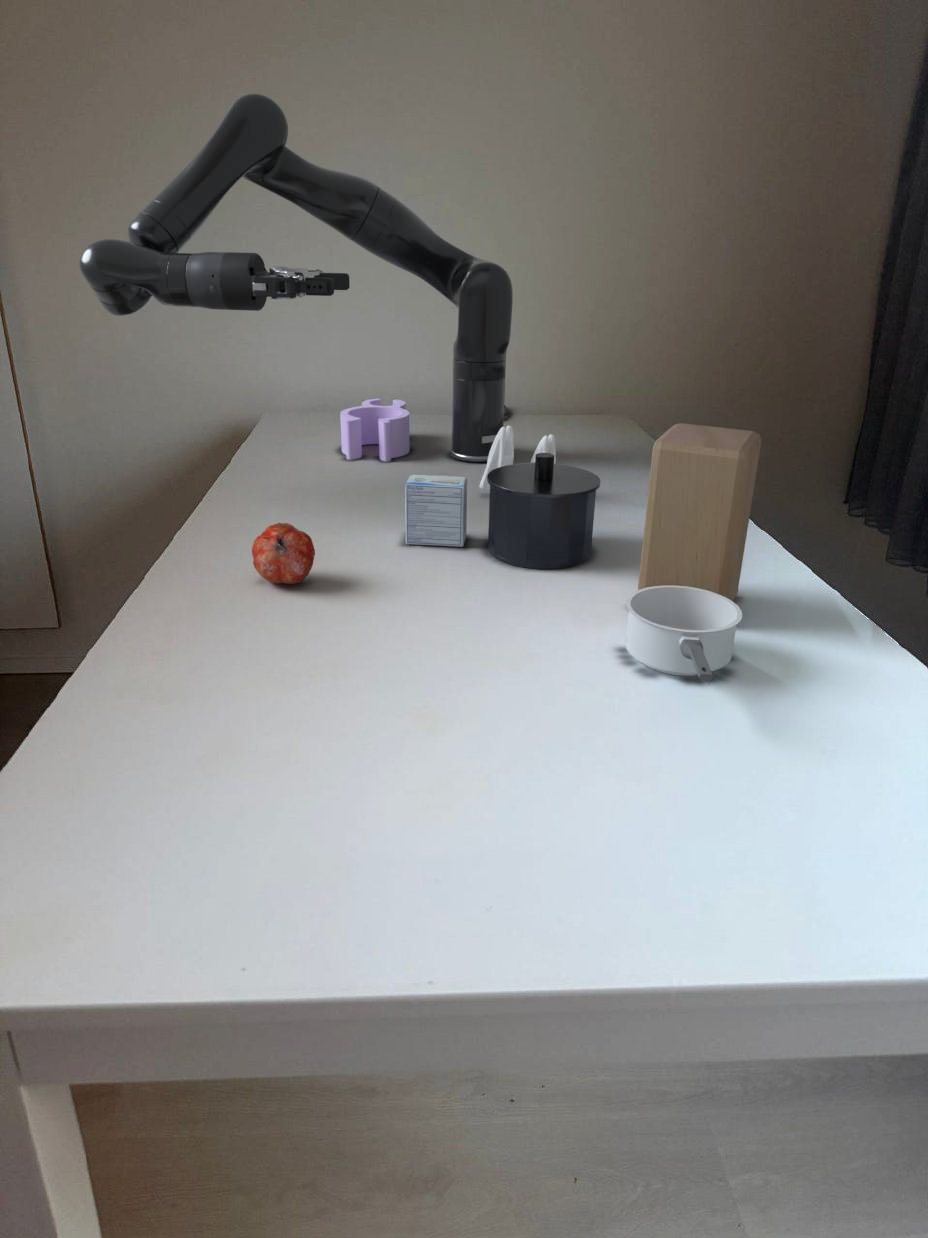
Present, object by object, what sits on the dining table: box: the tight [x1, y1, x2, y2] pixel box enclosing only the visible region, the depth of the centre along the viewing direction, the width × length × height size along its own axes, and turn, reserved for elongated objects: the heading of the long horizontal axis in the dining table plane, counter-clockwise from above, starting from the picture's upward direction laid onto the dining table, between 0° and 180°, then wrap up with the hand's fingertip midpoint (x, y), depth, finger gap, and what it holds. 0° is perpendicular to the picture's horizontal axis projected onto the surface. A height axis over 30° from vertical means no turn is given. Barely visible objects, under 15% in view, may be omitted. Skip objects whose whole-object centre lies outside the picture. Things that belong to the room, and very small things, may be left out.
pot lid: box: [487, 453, 601, 498], centre depth 116 cm, size 15×15×4 cm
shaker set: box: [479, 425, 557, 495], centre depth 141 cm, size 12×4×11 cm, turn 93°
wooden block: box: [637, 422, 762, 602], centre depth 101 cm, size 10×10×20 cm
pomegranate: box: [251, 522, 316, 585], centre depth 109 cm, size 7×7×10 cm
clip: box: [339, 398, 410, 462], centre depth 168 cm, size 20×12×7 cm, turn 174°
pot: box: [487, 485, 597, 570], centre depth 119 cm, size 14×14×10 cm
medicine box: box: [404, 474, 468, 548], centre depth 122 cm, size 8×4×9 cm, turn 84°
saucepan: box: [625, 585, 743, 683], centre depth 88 cm, size 12×20×6 cm, turn 175°
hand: (341, 284), depth 124 cm, fingers open, 8 cm apart
